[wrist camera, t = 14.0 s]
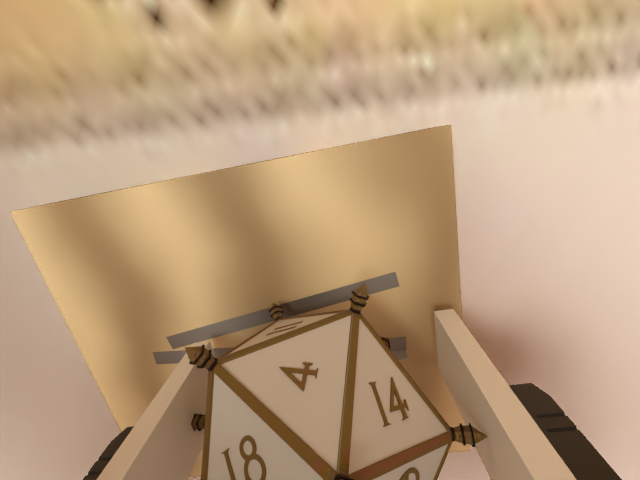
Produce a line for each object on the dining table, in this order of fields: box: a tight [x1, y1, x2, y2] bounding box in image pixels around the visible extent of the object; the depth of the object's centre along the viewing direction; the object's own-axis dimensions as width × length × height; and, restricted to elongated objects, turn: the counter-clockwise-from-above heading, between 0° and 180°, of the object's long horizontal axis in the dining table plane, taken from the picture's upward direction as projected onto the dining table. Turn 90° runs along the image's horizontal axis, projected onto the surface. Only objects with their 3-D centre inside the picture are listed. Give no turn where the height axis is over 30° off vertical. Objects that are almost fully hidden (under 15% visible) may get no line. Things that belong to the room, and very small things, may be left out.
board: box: [10, 125, 469, 477], centre depth 15 cm, size 18×16×2 cm
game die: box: [185, 283, 488, 480], centre depth 10 cm, size 9×8×10 cm
